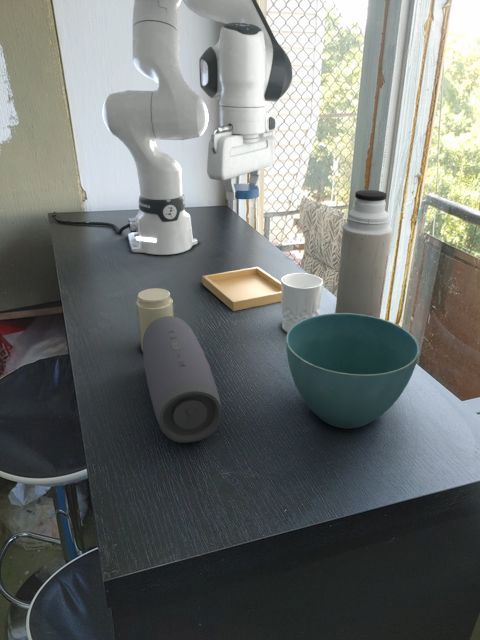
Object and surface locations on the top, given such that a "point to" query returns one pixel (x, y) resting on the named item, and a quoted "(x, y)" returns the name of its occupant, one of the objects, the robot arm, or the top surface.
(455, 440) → the top surface
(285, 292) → the white cup
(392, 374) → the teal bowl
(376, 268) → the thermos bottle
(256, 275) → the tray
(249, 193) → the jar lid
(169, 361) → the bluetooth speaker
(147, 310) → the jar
